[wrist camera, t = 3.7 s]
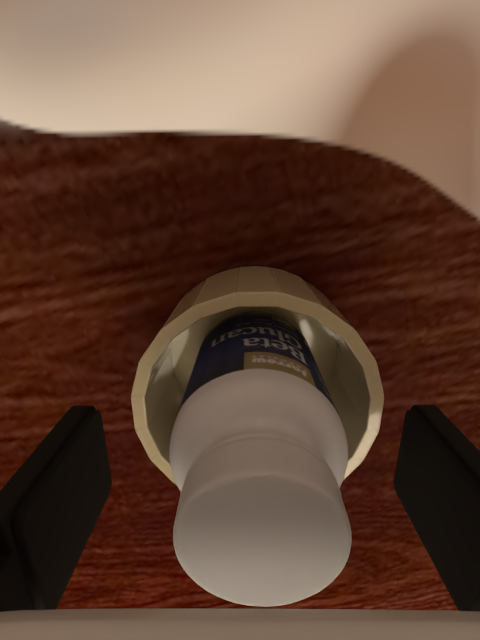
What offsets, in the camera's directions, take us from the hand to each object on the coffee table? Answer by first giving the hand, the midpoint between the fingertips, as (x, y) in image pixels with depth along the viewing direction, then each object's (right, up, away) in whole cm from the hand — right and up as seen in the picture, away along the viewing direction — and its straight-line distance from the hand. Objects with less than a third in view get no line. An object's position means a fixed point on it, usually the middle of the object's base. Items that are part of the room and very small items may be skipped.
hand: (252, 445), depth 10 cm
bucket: (0, +2, +7) cm, 7 cm away
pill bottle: (0, +2, +6) cm, 7 cm away
